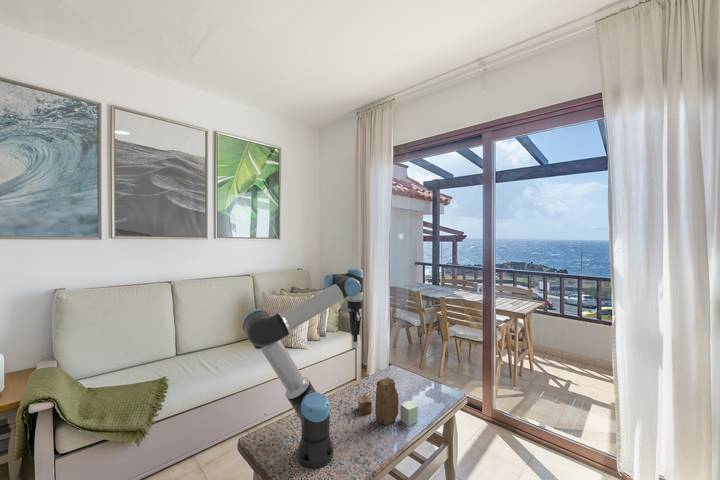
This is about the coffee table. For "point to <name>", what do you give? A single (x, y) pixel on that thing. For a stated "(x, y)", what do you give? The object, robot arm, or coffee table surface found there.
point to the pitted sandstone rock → (386, 401)
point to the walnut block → (364, 404)
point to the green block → (408, 413)
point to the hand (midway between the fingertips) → (354, 347)
